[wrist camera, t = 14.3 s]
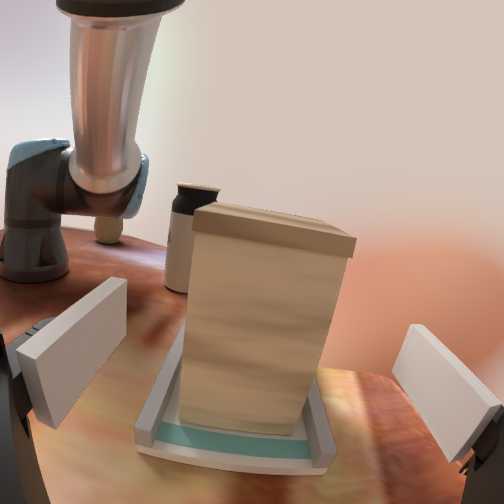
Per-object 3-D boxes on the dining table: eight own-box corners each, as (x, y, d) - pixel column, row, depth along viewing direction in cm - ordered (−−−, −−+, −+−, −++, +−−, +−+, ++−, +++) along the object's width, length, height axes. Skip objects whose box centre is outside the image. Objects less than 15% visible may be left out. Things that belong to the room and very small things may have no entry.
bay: (194, 314, 42) (202, 254, 40) (289, 329, 42) (303, 271, 41) (137, 451, 17) (128, 357, 15) (324, 474, 17) (369, 390, 15)
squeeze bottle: (100, 236, 76) (107, 172, 72) (126, 241, 76) (133, 175, 73) (88, 242, 68) (94, 172, 64) (114, 247, 68) (122, 174, 65)
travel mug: (211, 284, 56) (225, 188, 52) (201, 298, 48) (217, 188, 45) (172, 275, 56) (183, 182, 53) (156, 288, 49) (168, 181, 45)
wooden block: (195, 359, 29) (215, 201, 25) (284, 373, 29) (321, 220, 26) (175, 421, 20) (194, 209, 16) (294, 437, 20) (356, 238, 17)
